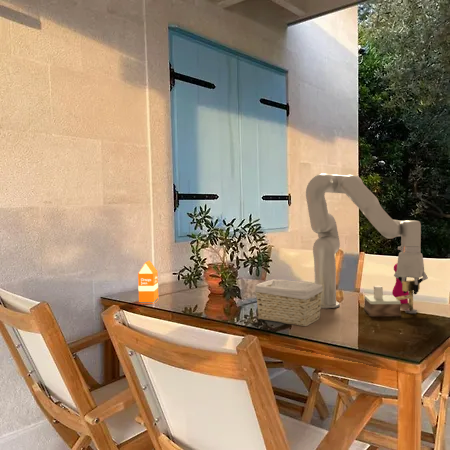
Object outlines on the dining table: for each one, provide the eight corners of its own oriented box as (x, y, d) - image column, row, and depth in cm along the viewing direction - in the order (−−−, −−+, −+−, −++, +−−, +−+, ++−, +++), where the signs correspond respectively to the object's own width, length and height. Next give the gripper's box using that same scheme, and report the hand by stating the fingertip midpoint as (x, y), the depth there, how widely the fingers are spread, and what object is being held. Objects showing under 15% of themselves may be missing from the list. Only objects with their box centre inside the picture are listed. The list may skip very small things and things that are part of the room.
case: (370, 316, 191) (370, 304, 191) (363, 309, 203) (363, 297, 203) (401, 316, 190) (401, 304, 190) (392, 309, 202) (392, 297, 202)
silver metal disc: (407, 313, 194) (407, 311, 193) (404, 311, 198) (404, 309, 198) (418, 313, 193) (418, 311, 193) (414, 311, 197) (414, 309, 197)
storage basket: (324, 319, 189) (324, 283, 188) (307, 328, 176) (306, 290, 175) (273, 311, 203) (273, 278, 202) (253, 320, 190) (253, 284, 189)
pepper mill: (410, 304, 210) (410, 260, 209) (393, 304, 212) (393, 260, 210) (407, 300, 217) (407, 258, 216) (391, 300, 219) (391, 258, 217)
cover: (370, 304, 191) (370, 289, 191) (364, 297, 203) (364, 283, 202) (400, 304, 190) (400, 289, 189) (392, 297, 202) (392, 283, 201)
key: (399, 312, 191) (399, 282, 191) (396, 311, 193) (396, 282, 192) (419, 309, 196) (419, 280, 196) (415, 308, 198) (415, 279, 197)
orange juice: (158, 299, 233) (157, 260, 232) (154, 303, 225) (153, 262, 223) (143, 299, 234) (142, 260, 233) (138, 303, 225) (137, 262, 224)
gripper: (388, 249, 196) (387, 292, 197) (429, 252, 186) (429, 297, 187) (393, 248, 202) (393, 289, 203) (434, 250, 192) (433, 294, 193)
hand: (410, 292), depth 195 cm, fingers closed on key, 3 cm apart
